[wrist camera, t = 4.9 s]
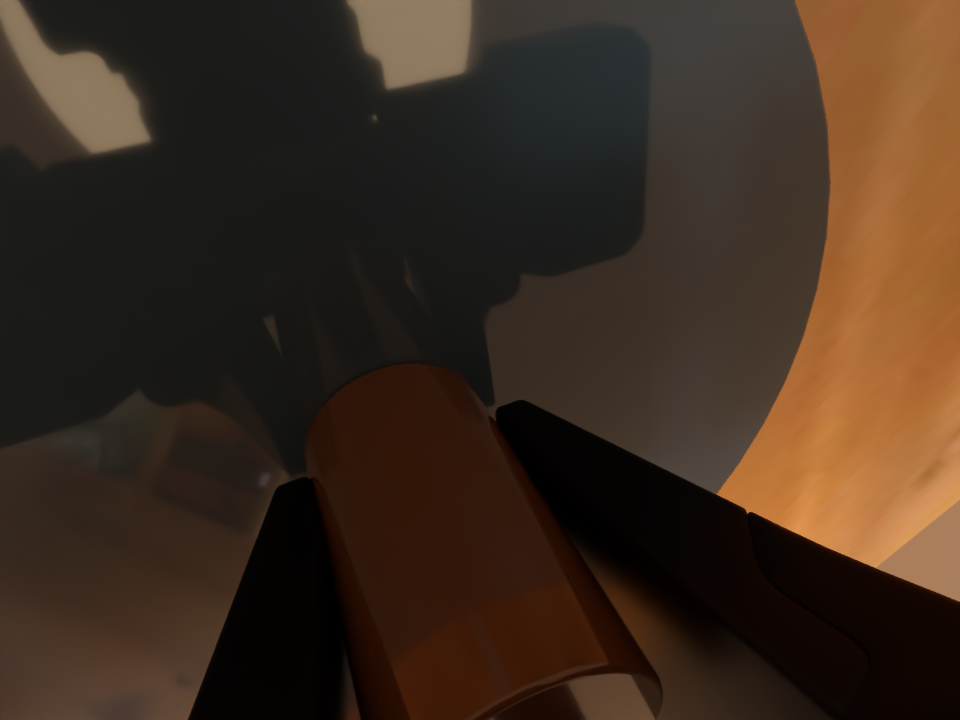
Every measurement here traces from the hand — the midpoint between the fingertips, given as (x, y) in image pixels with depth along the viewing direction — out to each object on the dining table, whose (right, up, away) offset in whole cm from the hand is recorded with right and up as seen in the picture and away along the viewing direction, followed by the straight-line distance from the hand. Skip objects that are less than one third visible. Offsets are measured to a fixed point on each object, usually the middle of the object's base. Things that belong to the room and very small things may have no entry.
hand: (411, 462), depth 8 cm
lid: (0, +1, +1) cm, 1 cm away
